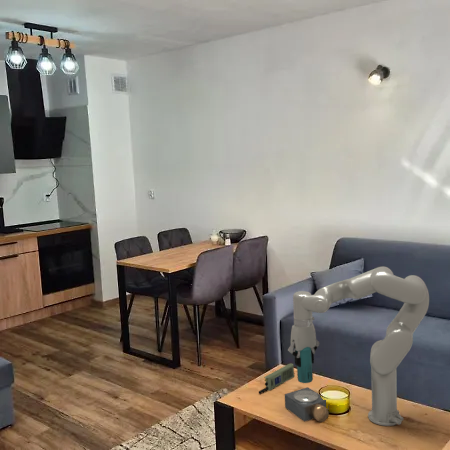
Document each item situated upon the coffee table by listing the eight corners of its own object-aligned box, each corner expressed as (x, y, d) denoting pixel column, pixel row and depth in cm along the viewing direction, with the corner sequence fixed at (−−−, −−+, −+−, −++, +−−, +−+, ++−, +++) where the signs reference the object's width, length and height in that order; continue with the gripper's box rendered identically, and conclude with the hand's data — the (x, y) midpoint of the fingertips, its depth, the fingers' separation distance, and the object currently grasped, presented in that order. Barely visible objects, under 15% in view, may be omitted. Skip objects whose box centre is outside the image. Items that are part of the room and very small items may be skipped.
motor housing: (334, 417, 206) (334, 402, 205) (310, 425, 201) (310, 410, 200) (308, 400, 222) (307, 386, 221) (285, 407, 217) (284, 393, 216)
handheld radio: (295, 377, 246) (262, 396, 229) (290, 376, 249) (257, 394, 231) (294, 364, 246) (261, 381, 228) (289, 362, 248) (255, 380, 230)
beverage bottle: (308, 388, 207) (306, 341, 204) (294, 384, 211) (291, 338, 208) (316, 381, 212) (313, 335, 210) (302, 378, 216) (299, 333, 214)
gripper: (314, 315, 216) (315, 356, 218) (280, 323, 208) (282, 365, 210) (325, 320, 209) (326, 362, 211) (290, 328, 201) (292, 372, 203)
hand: (304, 363), depth 211 cm, fingers closed on beverage bottle, 5 cm apart
